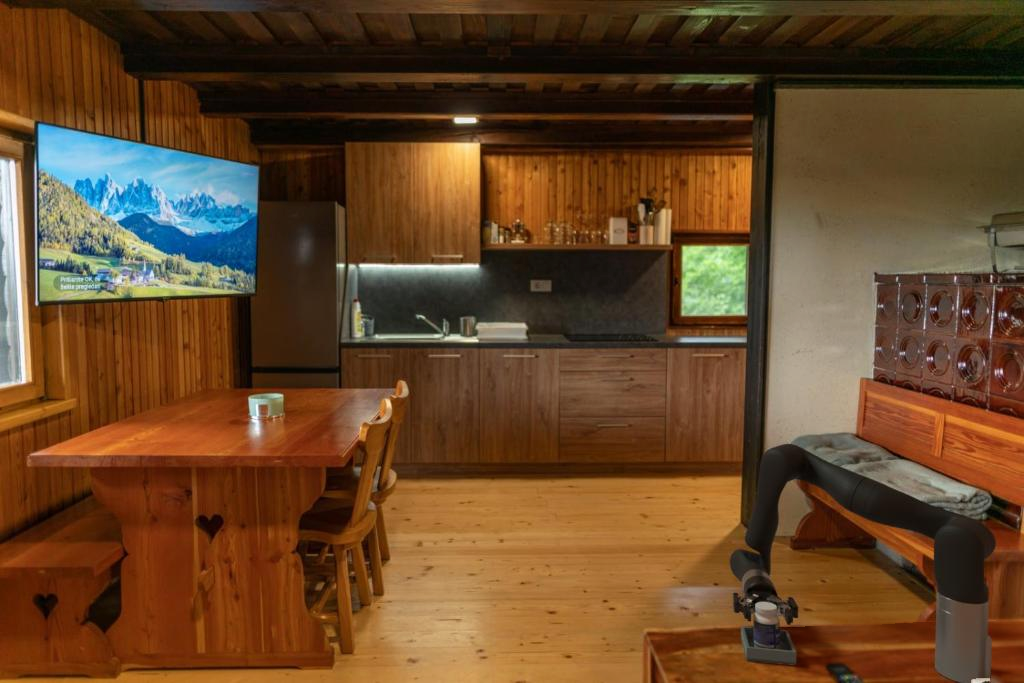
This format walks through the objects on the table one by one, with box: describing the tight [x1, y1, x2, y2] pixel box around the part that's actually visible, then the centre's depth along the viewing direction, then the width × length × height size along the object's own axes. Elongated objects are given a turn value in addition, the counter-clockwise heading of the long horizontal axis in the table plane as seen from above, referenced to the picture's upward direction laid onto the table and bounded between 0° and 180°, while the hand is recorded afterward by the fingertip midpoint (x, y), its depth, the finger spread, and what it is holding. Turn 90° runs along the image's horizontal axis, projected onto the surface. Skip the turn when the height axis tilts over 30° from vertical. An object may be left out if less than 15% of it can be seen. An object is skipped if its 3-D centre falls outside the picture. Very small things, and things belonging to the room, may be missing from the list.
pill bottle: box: [752, 602, 781, 650], centre depth 156 cm, size 6×6×10 cm
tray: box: [740, 625, 797, 666], centre depth 156 cm, size 10×10×3 cm
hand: (769, 619), depth 154 cm, fingers open, 8 cm apart
